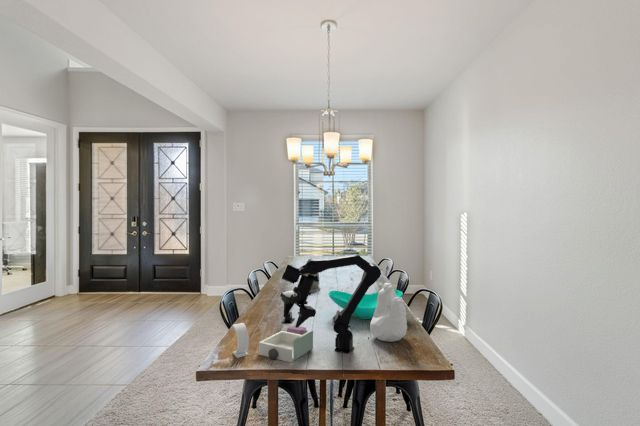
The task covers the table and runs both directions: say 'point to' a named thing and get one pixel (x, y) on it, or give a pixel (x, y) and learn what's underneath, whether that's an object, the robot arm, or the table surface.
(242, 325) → the headphone stand
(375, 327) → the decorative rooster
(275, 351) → the wagon bed
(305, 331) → the dome-topped mauve block
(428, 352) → the table surface
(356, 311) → the table top decor
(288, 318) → the black grey mechanical block
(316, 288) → the tankard
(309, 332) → the panel
